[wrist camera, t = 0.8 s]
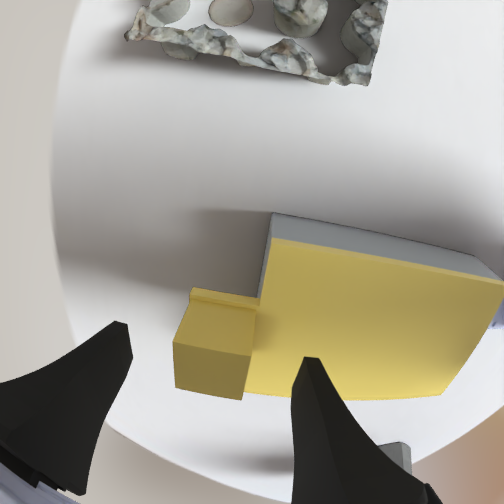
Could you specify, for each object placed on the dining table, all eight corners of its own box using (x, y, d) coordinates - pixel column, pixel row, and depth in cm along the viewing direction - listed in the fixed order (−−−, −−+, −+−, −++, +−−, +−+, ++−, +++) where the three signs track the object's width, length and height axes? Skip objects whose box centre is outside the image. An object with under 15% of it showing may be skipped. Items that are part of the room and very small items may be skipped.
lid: (499, 277, 11) (535, 313, 8) (435, 384, 15) (453, 424, 12) (199, 221, 11) (168, 263, 8) (192, 368, 15) (176, 421, 12)
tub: (474, 255, 14) (503, 281, 11) (422, 357, 18) (438, 389, 15) (271, 212, 14) (271, 237, 11) (247, 343, 18) (242, 383, 15)
